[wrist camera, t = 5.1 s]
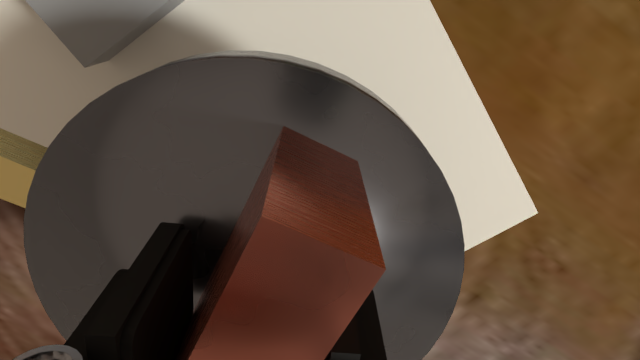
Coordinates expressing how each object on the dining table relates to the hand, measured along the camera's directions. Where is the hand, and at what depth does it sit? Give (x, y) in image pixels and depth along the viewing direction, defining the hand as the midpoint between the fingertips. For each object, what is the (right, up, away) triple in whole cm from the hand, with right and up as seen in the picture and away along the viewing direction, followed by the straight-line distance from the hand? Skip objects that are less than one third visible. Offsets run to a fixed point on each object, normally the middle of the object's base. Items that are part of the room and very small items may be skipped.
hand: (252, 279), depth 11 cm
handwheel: (-2, +3, +4) cm, 5 cm away
